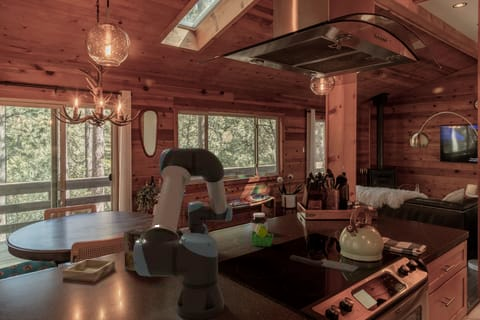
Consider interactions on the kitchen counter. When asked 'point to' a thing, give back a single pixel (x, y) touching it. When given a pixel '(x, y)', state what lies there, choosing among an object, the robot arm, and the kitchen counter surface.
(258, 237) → the fruit basket
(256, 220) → the spread jar
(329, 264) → the cleaver
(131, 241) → the coffee box
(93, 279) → the box
